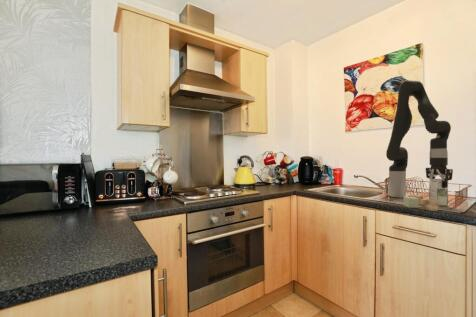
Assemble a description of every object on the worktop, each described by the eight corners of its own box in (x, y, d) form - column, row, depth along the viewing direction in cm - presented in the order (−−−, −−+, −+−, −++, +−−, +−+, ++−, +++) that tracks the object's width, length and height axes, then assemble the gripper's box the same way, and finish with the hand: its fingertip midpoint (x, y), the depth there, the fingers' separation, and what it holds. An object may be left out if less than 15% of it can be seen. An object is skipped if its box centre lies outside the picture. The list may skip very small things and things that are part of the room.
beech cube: (420, 208, 119) (420, 199, 119) (428, 208, 120) (428, 198, 120) (431, 211, 114) (430, 201, 114) (438, 210, 115) (438, 200, 115)
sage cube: (403, 205, 127) (403, 196, 126) (413, 205, 126) (413, 196, 125) (408, 207, 122) (408, 198, 122) (418, 207, 121) (418, 198, 121)
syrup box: (439, 203, 128) (439, 178, 128) (448, 206, 122) (448, 179, 122) (429, 203, 129) (428, 178, 129) (437, 206, 123) (436, 179, 123)
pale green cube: (408, 203, 130) (408, 195, 130) (412, 202, 132) (412, 194, 132) (418, 205, 126) (418, 196, 126) (422, 204, 128) (422, 195, 128)
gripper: (420, 156, 132) (420, 185, 132) (444, 157, 118) (444, 189, 118) (432, 156, 133) (432, 185, 133) (458, 156, 118) (458, 188, 118)
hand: (438, 186), depth 125 cm, fingers closed on syrup box, 6 cm apart
